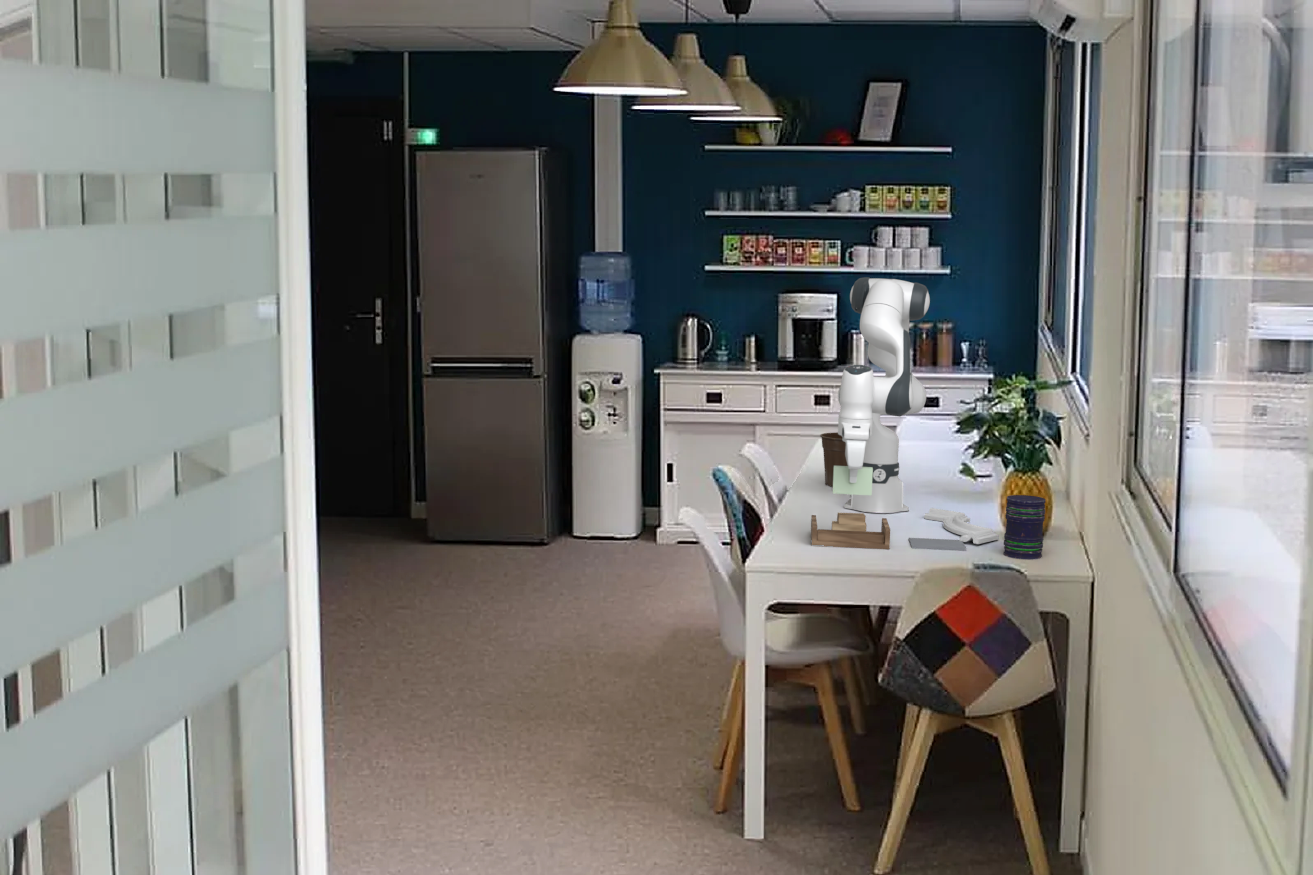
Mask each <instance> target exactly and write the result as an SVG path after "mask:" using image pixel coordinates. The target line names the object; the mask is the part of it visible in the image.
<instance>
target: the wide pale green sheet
mask: <svg viewBox="0 0 1313 875" xmlns="http://www.w3.org/2000/svg"><path fill="white" fill-rule="evenodd" d="M872 476H873V468H872V467H862V469H858V473H857V481H856V483H851V482H850V480H849V479H850V469H849V468H848V466H834V471H833V487H832V494H834V495H850V494H852V495H872Z"/></svg>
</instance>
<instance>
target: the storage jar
mask: <svg viewBox="0 0 1313 875" xmlns="http://www.w3.org/2000/svg"><path fill="white" fill-rule="evenodd" d="M1045 503H1046V499H1045V498H1044V497H1041V496H1036V495H1035V496H1034V495H1025V494H1023V495H1022V494H1012V495H1008V496H1006V506H1005V519H1006V522H1005V523H1006V524H1005V525H1006V526H1005V532H1004V536H1003V538H1004V539H1003V549H1004V550H1003V556H1005V557H1007V558H1011V559H1015V560H1016V559H1017V560H1025V561H1026V560H1032V561H1033V560H1040V559H1042V558H1043V554H1042V552H1043V548H1044V535H1043V531H1044V530H1043V529H1044V522H1045V516H1046V504H1045ZM1041 557H1042V558H1041Z"/></svg>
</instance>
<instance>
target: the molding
mask: <svg viewBox="0 0 1313 875" xmlns="http://www.w3.org/2000/svg"><path fill="white" fill-rule="evenodd" d="M924 518H925V520H930V521H931V520H932V521H937V522H943V523H942V525H943V528H944V529H945V530H947V531H948V532H951V533H953V534H956V535H959V536H960V537H959V540H960V541H963V543H967V542H971V541H972V542H973V544H975V545H980V544H985V543H989V542H992V541H996V540H997V541H998V540H999V538H1000V534H997V533H996V532H995V531H994V530H993V529H992V528H989V527H983V526H979V525H975V524H972V523H971V518H970V517H968V516H967V515H966V514H965V513H964V512H960V511H954V510H953V511H952V510H947V509H941V508H940V509H939V508H934V507H930V508H929V511H928V512H927V513H925V514H924ZM967 522H969V523H967Z"/></svg>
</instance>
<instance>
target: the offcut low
mask: <svg viewBox="0 0 1313 875" xmlns="http://www.w3.org/2000/svg"><path fill="white" fill-rule="evenodd" d="M867 527H868V526H867V522H866V521H865V525H849V524H838V522H837V520H831V530H846V531H867Z"/></svg>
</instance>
